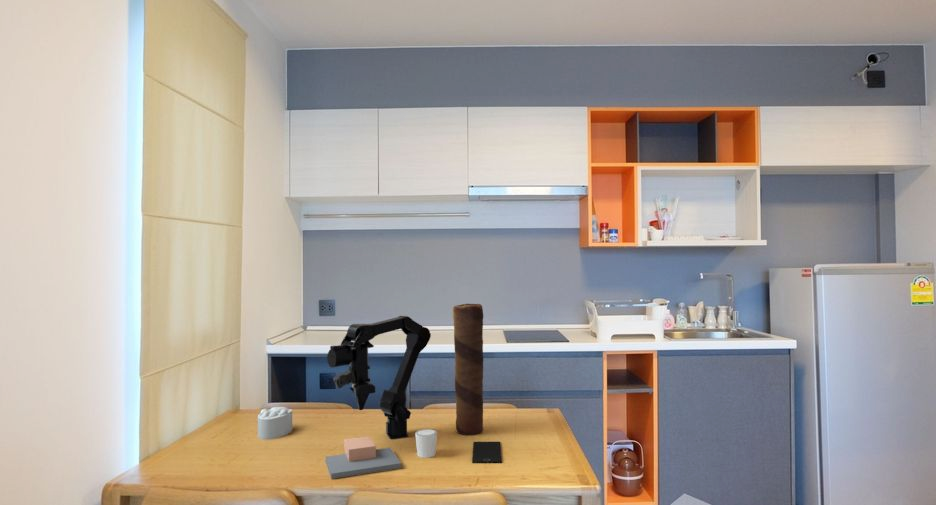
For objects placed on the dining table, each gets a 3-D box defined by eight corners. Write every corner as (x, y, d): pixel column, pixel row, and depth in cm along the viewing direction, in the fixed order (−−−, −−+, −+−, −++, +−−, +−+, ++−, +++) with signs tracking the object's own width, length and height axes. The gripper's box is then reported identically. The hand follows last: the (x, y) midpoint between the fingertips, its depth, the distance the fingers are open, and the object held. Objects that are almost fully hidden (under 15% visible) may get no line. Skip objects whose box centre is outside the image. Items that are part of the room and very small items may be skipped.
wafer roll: (480, 437, 186) (478, 305, 187) (451, 434, 189) (449, 305, 190) (489, 428, 196) (487, 303, 197) (461, 425, 199) (459, 302, 200)
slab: (369, 436, 173) (375, 446, 164) (369, 447, 173) (375, 457, 164) (344, 439, 171) (348, 449, 161) (344, 450, 171) (349, 461, 161)
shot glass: (420, 460, 166) (420, 436, 166) (412, 453, 172) (411, 430, 172) (441, 456, 169) (440, 433, 169) (432, 449, 175) (431, 427, 175)
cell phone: (472, 464, 162) (472, 461, 162) (473, 444, 180) (473, 441, 180) (501, 464, 162) (501, 461, 162) (500, 444, 180) (500, 441, 180)
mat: (390, 452, 173) (390, 447, 173) (401, 468, 159) (401, 463, 159) (325, 461, 166) (325, 456, 166) (331, 479, 152) (331, 473, 152)
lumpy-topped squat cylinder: (296, 428, 199) (295, 404, 200) (278, 440, 187) (278, 414, 187) (269, 427, 201) (269, 404, 201) (250, 439, 188) (250, 414, 188)
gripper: (330, 360, 185) (331, 406, 185) (339, 370, 168) (340, 421, 168) (363, 357, 190) (364, 401, 190) (374, 366, 172) (376, 416, 172)
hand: (360, 409), depth 180 cm, fingers closed
